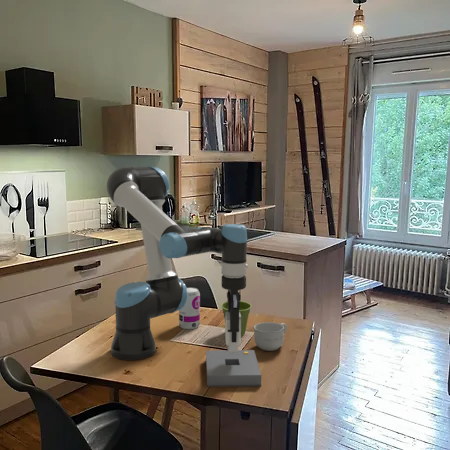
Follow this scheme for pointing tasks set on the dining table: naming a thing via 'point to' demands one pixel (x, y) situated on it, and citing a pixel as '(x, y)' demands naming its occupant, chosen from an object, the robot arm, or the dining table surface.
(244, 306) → the plant pot
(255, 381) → the plate
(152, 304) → the robot arm
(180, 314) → the supplement can
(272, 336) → the teacup
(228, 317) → the plug
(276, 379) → the dining table surface
